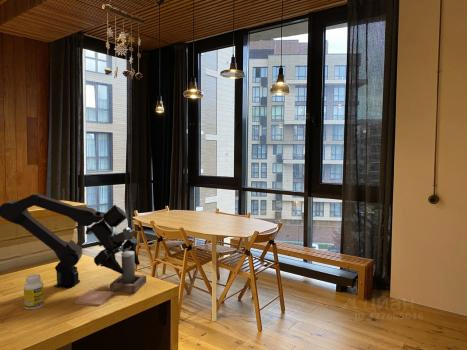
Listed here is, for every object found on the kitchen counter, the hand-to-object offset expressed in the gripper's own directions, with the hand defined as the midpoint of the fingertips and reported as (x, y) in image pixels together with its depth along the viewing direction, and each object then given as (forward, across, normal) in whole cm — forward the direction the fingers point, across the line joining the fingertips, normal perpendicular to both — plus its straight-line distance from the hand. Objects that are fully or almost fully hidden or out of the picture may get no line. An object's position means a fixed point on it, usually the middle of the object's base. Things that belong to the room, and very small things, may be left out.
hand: (131, 268), depth 125 cm
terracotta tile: (+1, -12, +9) cm, 15 cm away
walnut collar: (+4, 0, +6) cm, 7 cm away
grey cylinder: (+4, 0, +6) cm, 7 cm away
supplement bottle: (-9, -23, +19) cm, 31 cm away
